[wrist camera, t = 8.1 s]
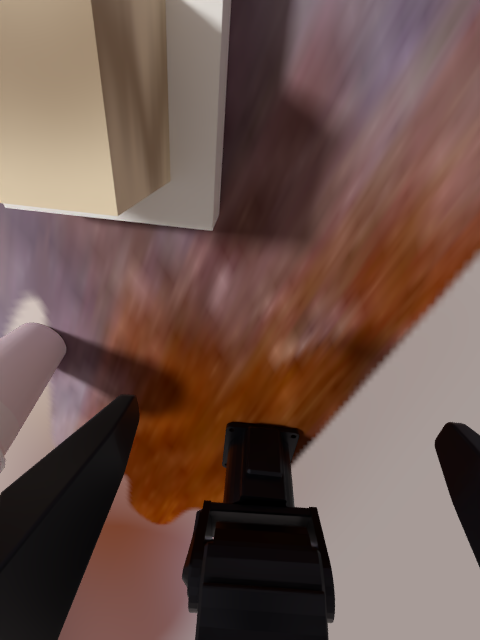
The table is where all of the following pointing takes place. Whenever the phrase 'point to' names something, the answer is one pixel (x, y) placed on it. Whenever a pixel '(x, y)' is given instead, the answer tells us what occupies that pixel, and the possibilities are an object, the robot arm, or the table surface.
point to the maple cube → (83, 103)
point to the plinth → (188, 120)
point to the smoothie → (24, 375)
